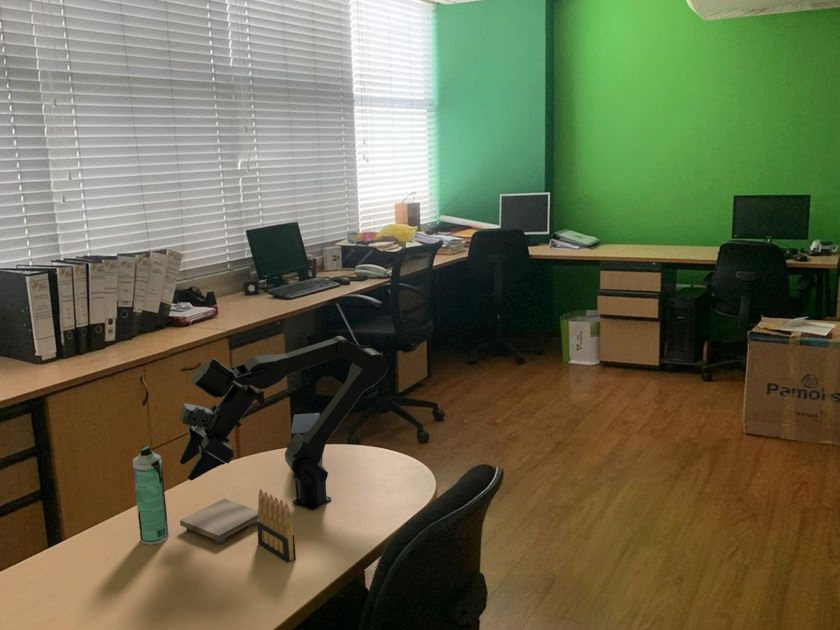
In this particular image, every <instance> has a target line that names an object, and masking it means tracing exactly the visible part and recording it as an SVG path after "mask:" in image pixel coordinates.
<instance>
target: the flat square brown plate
mask: <svg viewBox="0 0 840 630" xmlns="http://www.w3.org/2000/svg"><path fill="white" fill-rule="evenodd" d="M179 521H180V522H179V525H180V526H181V527H184V528H186V529H185V530H186V533H194V532H195V533H198V534H201V535H203V536H206V537H208V538H211V539H213V540H214V542H215V544H216V545H223V544H225V542H226V538H228V537H229V536H231V535H233V534H235V533H236V532H238V531H240V530H242V529H244V528H246V527H247V526H249V527H256V526H257V521H259V519H258V509H255V508H252V507H249V506H246V505H243V504H242V503H238V502H236V501H232V500H229V499H226V498H223V499H220V500H218V501H216V502H214V503H212V504H211V505H208V506H206V507H204V508H202V509H200V510H197V511H196V512H193V513H192V514H189V515H188V516H186V517H184V518H182V519H180V520H179Z"/></svg>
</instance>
